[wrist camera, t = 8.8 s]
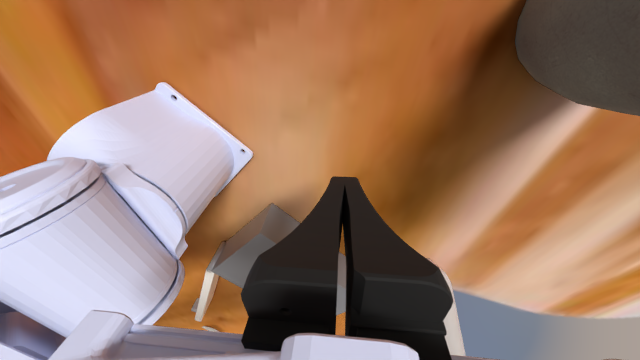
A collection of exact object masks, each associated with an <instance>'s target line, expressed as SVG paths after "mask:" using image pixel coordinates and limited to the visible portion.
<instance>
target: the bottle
mask: <svg viewBox="0 0 640 360" xmlns="http://www.w3.org/2000/svg"><path fill="white" fill-rule="evenodd" d="M515 45H516V50H517V55H518V59H519V61H520V62H521V63H522V65H523V66H524V67H525V69H526V70H527V71H528V73H529V74H530V75H531V76H532V77H533V78H534V79H535V81H537V82H539V83H540V84H542V85H544V86H546V87H547V88H549V89H551V90H553V91H554V92H556V93H558V94H560V95H562V96H564V97H566V98H568V99H570V100H572V101H574V102H576V103H578V104H582V105H587V106H591V107H596V108H601V109H606V110H611V111H616V112H620V113H626V114H631V115H637V116H640V0H527V1H526V3H525V6H524V8H523V10H522V13H521V15H520V17H519V20H518V24H517V31H516V38H515Z"/></svg>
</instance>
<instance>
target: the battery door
mask: <svg viewBox="0 0 640 360" xmlns="http://www.w3.org/2000/svg"><path fill="white" fill-rule="evenodd" d="M225 244H226V242H224V241H223V242H221V244H220V246H219V248H218V249H217V251H216V253H215V255H214V257H213V258H212V260H211V262H210V264H209V265H208V267H207V269H206V273H205V277H204V282H203V286H202V290H201V295H200V298H197V299H196V301H195V303H194V305H193V307H192V310H191V311H194V312H196V316H195V320H197V321H200V322H201V321H202V319H203V317H204V314H205V312H206V310H207V308H208V306H209V304H210V302H211V300H212V298H213V295H214V292H215V289H216V285H217V282H218V279H219V275H217V274H215V273H213V272H211V270H212V269H213V267H214V265H215V263H216V261H217V259H218V257H219V256H220V254H221V252H222V250H223V248H224V246H225Z"/></svg>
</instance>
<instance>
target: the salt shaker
mask: <svg viewBox="0 0 640 360" xmlns="http://www.w3.org/2000/svg"><path fill="white" fill-rule="evenodd" d="M426 259H428V260H429V261H430V262H432V263H433V264H435V263H434V262H433V261H431V260H430V259H429V258H426ZM435 265H436V264H435ZM436 266H437V265H436ZM439 269H440V271H441V272H442V274H443V276H444V278H445V280H446V282H447V284H448V286H449V288H450V291H451V294H452V297H453V304H452V307H451V309H450V310H449V312H448V314H447V315H446V317H445V319H444V320H443V322H444V325H445V328H446V331H447V335H446V336H445V339H446V342H447V346H448V349H449V352H450V355H458V356H466V355H465V350H464V346H463V340H462V335H461V330H460V325H459V320H458V315H457V310H456V305H455V300H454V295H453V289H452V284H451V281H450V280H449V278H448V276H447V275H446V273H445V272H444V271H443V270H442V269H441V268H439Z"/></svg>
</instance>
